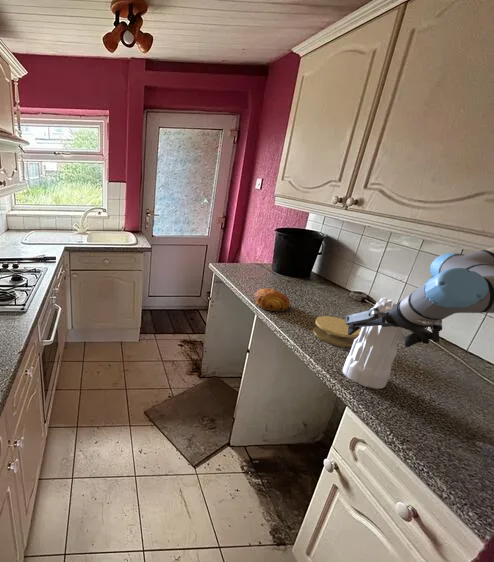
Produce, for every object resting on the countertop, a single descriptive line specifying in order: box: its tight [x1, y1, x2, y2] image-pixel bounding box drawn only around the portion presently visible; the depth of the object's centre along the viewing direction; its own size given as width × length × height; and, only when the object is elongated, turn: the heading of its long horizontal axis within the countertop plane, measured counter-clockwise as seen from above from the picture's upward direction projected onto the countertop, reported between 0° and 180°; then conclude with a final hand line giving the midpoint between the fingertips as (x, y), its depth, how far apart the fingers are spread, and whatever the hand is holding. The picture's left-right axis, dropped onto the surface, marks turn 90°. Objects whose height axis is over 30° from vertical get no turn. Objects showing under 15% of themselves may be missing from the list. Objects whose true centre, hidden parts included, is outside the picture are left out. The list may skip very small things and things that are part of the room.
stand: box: [312, 315, 361, 348], centre depth 116 cm, size 14×14×5 cm
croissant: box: [254, 287, 291, 312], centre depth 140 cm, size 14×16×8 cm
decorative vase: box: [342, 296, 403, 390], centre depth 90 cm, size 11×11×25 cm
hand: (377, 336), depth 90 cm, fingers open, 13 cm apart
